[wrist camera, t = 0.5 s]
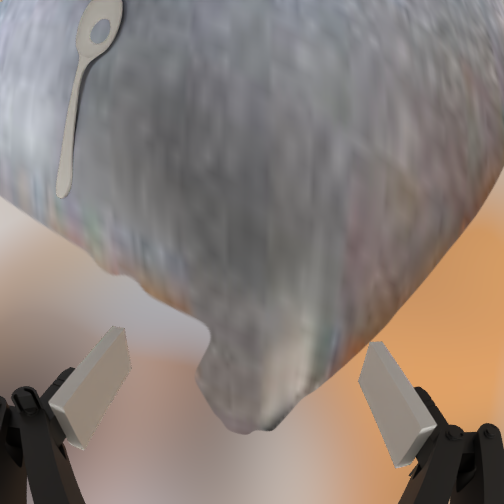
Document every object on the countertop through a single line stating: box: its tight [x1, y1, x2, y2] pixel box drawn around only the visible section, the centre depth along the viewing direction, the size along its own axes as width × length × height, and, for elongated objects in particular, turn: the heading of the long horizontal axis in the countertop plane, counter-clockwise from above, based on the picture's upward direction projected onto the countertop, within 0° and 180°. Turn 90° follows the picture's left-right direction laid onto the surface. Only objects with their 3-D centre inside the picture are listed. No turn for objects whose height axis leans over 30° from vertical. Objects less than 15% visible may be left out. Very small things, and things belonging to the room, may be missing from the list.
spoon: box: [56, 0, 123, 199], centre depth 31 cm, size 35×8×3 cm, turn 157°
